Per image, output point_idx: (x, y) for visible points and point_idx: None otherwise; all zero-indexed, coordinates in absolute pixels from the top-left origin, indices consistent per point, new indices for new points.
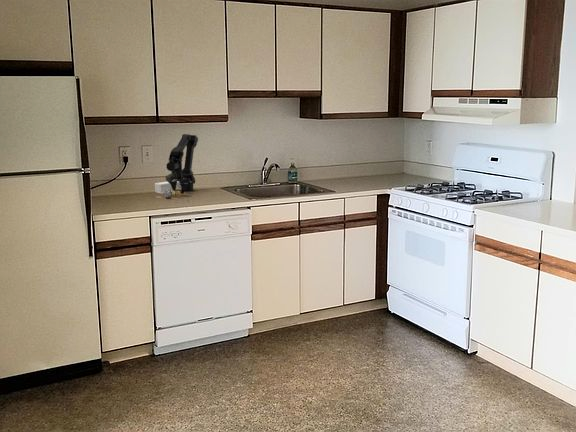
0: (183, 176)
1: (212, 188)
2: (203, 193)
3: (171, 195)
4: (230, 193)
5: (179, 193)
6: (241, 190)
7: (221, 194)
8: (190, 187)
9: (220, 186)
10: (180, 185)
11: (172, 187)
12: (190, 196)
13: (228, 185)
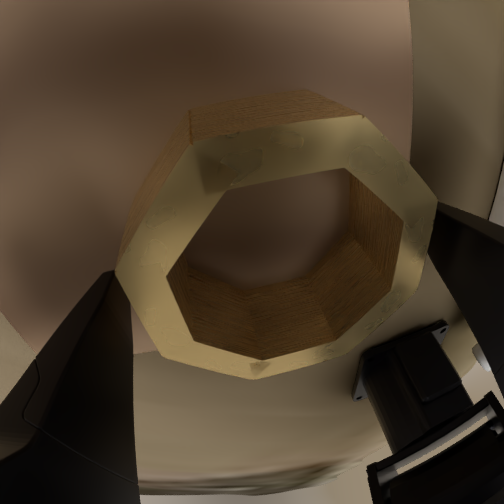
0: (481, 497)
1: (356, 444)
2: (246, 427)
3: (291, 56)
4: (151, 477)
5: (128, 224)
6: (209, 492)
7: (138, 463)
8: (381, 416)
9: (363, 455)
10: (14, 452)
11: (499, 239)
12: (14, 317)
13: (352, 466)
